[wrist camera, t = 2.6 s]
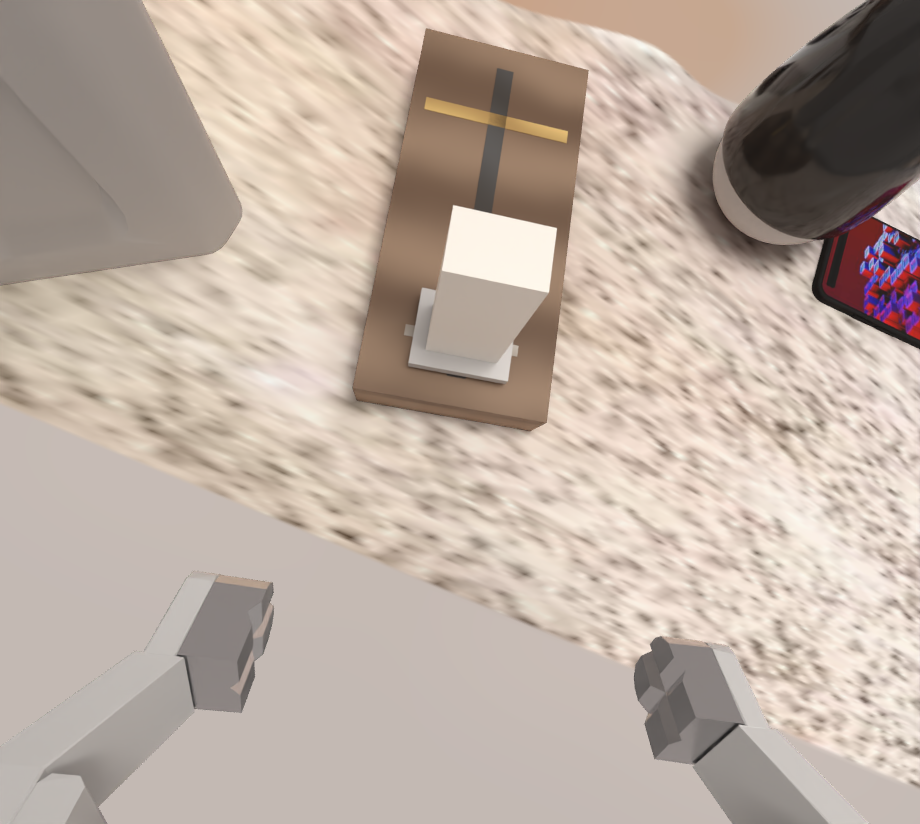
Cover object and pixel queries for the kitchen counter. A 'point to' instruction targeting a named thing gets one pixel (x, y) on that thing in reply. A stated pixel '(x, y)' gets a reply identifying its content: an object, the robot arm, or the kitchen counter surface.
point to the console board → (479, 188)
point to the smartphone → (873, 278)
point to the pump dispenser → (827, 131)
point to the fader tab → (482, 294)
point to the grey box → (100, 145)
